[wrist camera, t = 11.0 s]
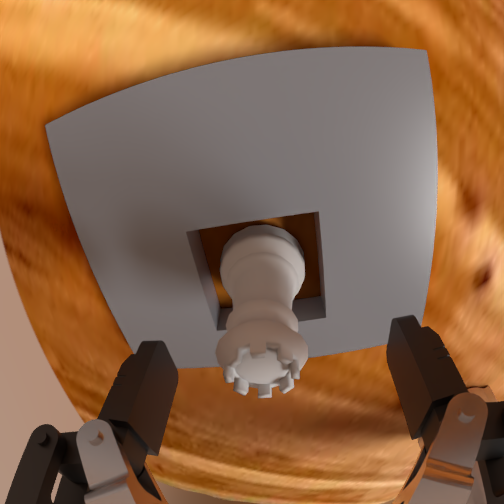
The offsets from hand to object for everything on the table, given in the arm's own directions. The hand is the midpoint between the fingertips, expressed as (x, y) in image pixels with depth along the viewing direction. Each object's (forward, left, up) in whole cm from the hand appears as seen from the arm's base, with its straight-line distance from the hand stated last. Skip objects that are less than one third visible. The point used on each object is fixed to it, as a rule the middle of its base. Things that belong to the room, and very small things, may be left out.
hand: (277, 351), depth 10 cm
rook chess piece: (+1, 0, -7) cm, 7 cm away
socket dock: (+1, -2, -7) cm, 7 cm away
